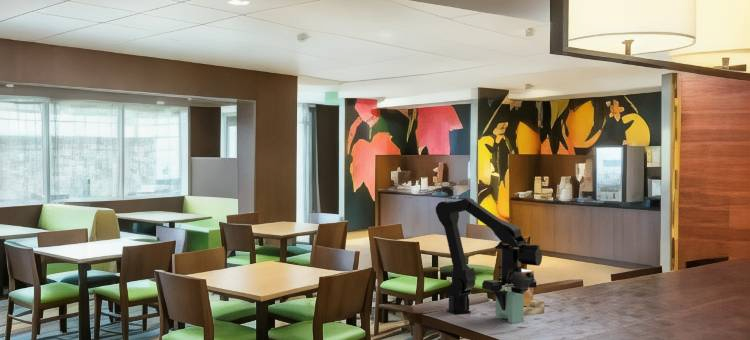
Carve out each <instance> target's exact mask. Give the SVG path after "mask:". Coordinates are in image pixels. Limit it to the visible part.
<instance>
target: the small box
mask: <svg viewBox="0 0 750 340" xmlns="http://www.w3.org/2000/svg"><path fill="white" fill-rule="evenodd" d="M521 271H522V273H528V272H532V273H533V274H534V273H535V272H534V270H530V269H527V268H521ZM511 284H512V283H511ZM511 287H513V286H511ZM511 287H505V290H508V291H511ZM527 289H528V290H527V291H525V292H524V293H523V294H522V295H524V306H526V307H529V306H530V301H532V300H534V288H527ZM511 292H512V291H511Z"/></svg>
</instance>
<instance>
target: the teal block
mask: <svg viewBox="0 0 750 340" xmlns="http://www.w3.org/2000/svg"><path fill="white" fill-rule="evenodd" d="M505 290H506V289H505ZM506 291H508V290H506ZM523 309H524V295H522V294H519V293H515V292H511V291H508V292H507V294H506V304H505V310H502V308H501V306H500V304H499V301H498V299H497V297H496V296H495V318H496V317H497V318H496V319H498V318H500V319H499V320H502V319H501V318H504V319H507V321H508V323H510V322H511V323H510V324H519V323H523V322H524V315H523Z"/></svg>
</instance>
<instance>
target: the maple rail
mask: <svg viewBox="0 0 750 340" xmlns="http://www.w3.org/2000/svg"><path fill="white" fill-rule="evenodd" d="M544 313H545V300H540V299H533V300H532V301H530V306H526V307H524V309H523V316H528V315H536V314H544Z"/></svg>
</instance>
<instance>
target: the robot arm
mask: <svg viewBox="0 0 750 340" xmlns="http://www.w3.org/2000/svg"><path fill="white" fill-rule="evenodd" d="M465 211H466V212H467V213H468V214H469V215H471V216H472V217H474V218H476V219H477V220H478V221H479V222H481V224H484V225H485V226H487V227H488V228H489V229H490V230H492V232H493V233H494V235H495V237H497V239H499V240H500V241H499V242H498V244H497V245H496V246H494V248H495V249H494V250H500V264H499V265H498V269H500V277H498V280H495V279H486V280H485V279H484V280H483V281H482V284H481V285H482V286H481V287H482V288H481V289H483V290H487V291H488V292H489V291H490V292H493V294H494V295H495V298H496V297H497V299H498V301H499V304H500V306H501V308H502V310H505V304H506V294H507V292H508V291H506V287H511V286H513V287H511V291H512V292H515V293H519V294H523V293H524V292H525V291H527V290H528V289H527V288H533V289H534V288H537V286H538V285H537V283H538V282H537V280H536V279H535V274H534V273H532V272H528V273H522V271H521V269H522V266H519V262H520V264H521V265H526V266H538V267H539V266H540V265H541V264H542V261H543V253H542V250H541V248H540V244H528V243H527V241H526V239H525V238H524V236H523V235H522V231H521V228H520V227H519V226H518V225H515V224H513V223H511V222H509V221H507V220H503V219H501V218H499V217H498V216H496V215H495V214H493V213H492V212H491V211H489V210H488V209H486V208H485V207H483V206H482V205H481V204H479V203H478V202H476V201H475V200H474V199H473V198H472V197H471V198H462V199H460V200H456V201H455V200H454V201H453V200H447V201H444V200H443V201H439V202H438V203H437V204H436V206H435V213H436V217H437V219H438V221H439V222H440V224H441V225H442V226H443V228H444V232H445V233H444V234H445V236H446V241H447V246H448V249H449V250H448V251H449V254H450V255H449V256H450V258H451V263H452V264H451V265H452V271H451V283H450V285H449V286H448V287H447V288H445V293H446V296H448V308H447V309H446V311H447V312H449V313H451V314H455V315H460V314H461V315H463V314H468V313H471V312H472V311H471V310H470V297H469V294H471V292H472V290H473V288H474V286H475V285H476V280H477V277H476V275H475V269H474V267H471V268H470V266H469V265H468V264H467V260H466V257H465V256H466V255H465V251H464V248H463V243H462V239H461V235H460V230H459V225H458V223H459V218H460V213H461V212H465ZM511 283H512V284H511Z"/></svg>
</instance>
